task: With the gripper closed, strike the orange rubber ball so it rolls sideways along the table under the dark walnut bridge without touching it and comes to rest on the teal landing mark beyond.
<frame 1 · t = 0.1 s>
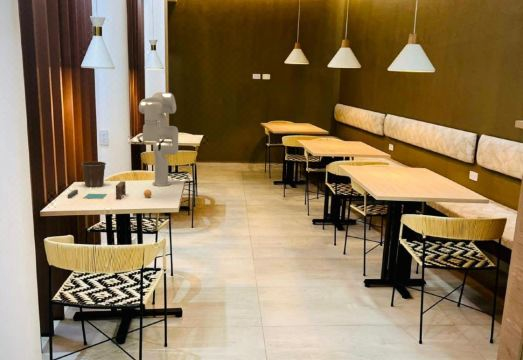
hand: (151, 150, 305), 31 cm above the table, tool pointing down, fingers open, 9 cm apart
plant pot: (94, 186, 342), on the table
landing mark: (95, 196, 313), on the table
bridge: (120, 196, 314), on the table
stopper wall: (73, 195, 312), on the table
ball: (147, 193, 314), on the table
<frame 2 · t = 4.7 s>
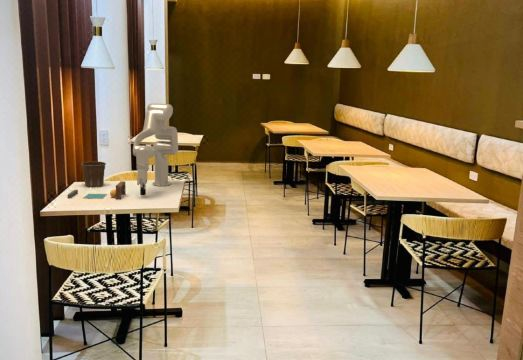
hand: (143, 195, 314), 2 cm above the table, tool pointing down, fingers closed
ball: (114, 193, 311), on the table
everything else where it was.
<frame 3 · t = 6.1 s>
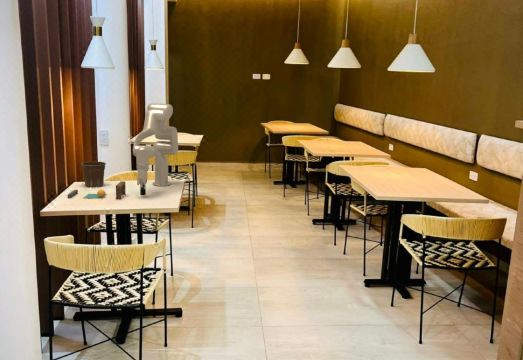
hand: (143, 195, 314), 2 cm above the table, tool pointing down, fingers closed
ball: (101, 193, 310), on the table
everything else where it was.
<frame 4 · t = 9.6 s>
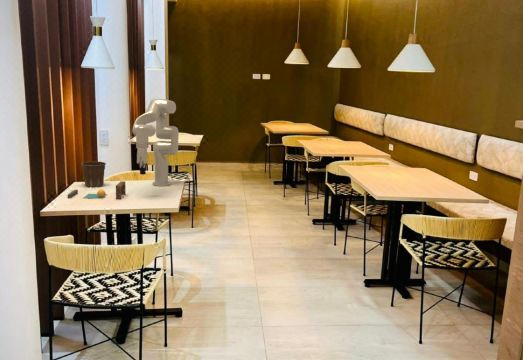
hand: (142, 174, 312), 15 cm above the table, tool pointing down, fingers closed
nothing on the table moved.
at the end: ball 4.9 cm from the landing mark (horizontally); ball never touched bridge; ball at rest at the end (0.0 cm/s) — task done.
